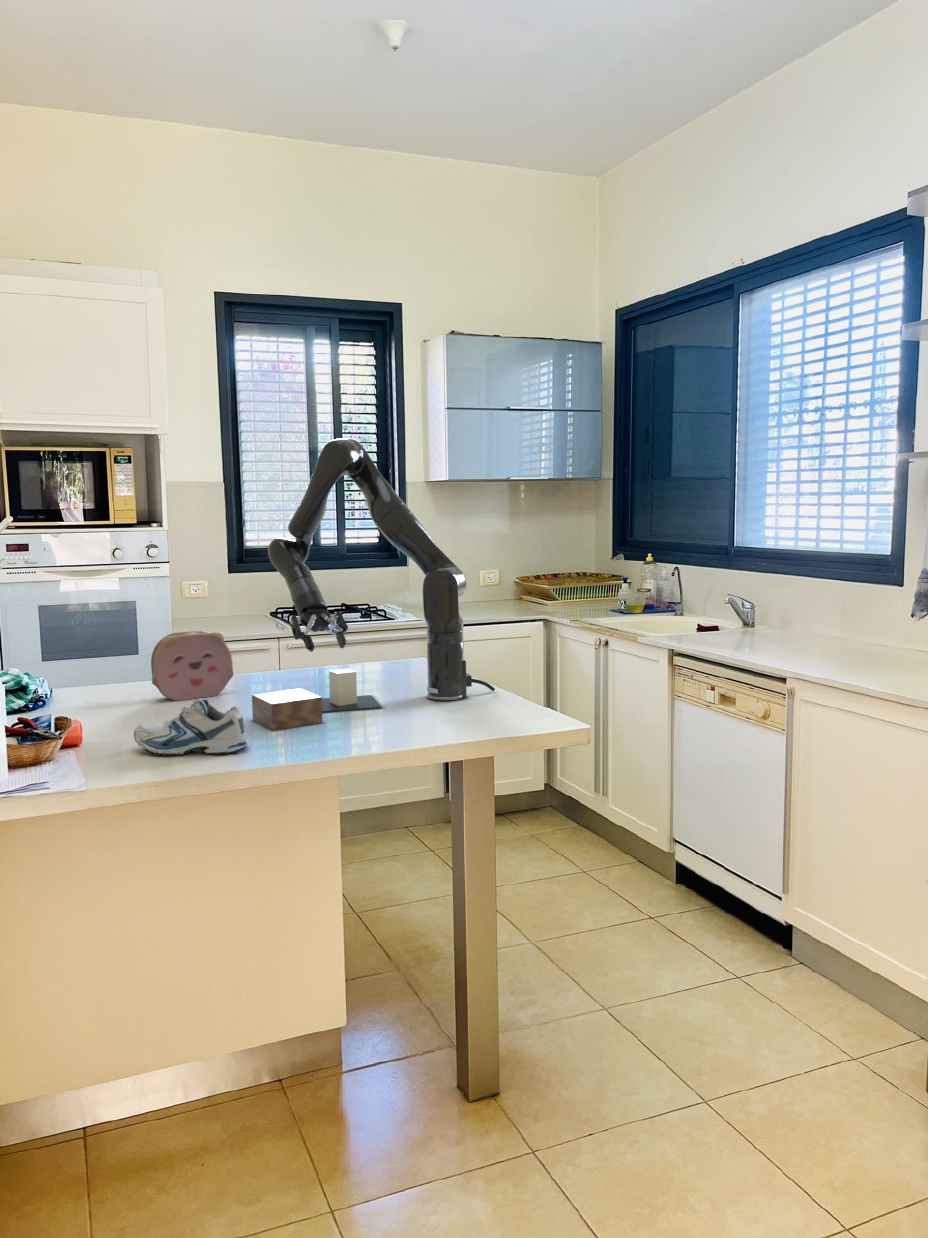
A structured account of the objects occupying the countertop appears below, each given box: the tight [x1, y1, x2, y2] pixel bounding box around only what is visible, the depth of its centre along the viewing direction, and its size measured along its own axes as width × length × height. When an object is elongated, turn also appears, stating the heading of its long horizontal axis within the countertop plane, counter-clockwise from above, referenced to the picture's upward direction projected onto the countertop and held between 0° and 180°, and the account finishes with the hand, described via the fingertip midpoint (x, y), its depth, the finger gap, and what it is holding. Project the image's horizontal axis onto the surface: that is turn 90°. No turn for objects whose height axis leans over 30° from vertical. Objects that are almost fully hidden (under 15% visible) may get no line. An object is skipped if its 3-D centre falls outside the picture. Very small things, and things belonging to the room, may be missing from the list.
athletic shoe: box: [133, 698, 249, 757], centre depth 190 cm, size 10×23×12 cm, turn 94°
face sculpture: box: [150, 630, 234, 702], centre depth 240 cm, size 20×7×17 cm, turn 121°
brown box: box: [251, 687, 323, 732], centre depth 213 cm, size 12×12×6 cm
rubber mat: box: [322, 694, 382, 714], centre depth 230 cm, size 16×14×1 cm
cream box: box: [328, 668, 358, 706], centre depth 230 cm, size 5×5×8 cm
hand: (328, 648), depth 235 cm, fingers open, 8 cm apart
